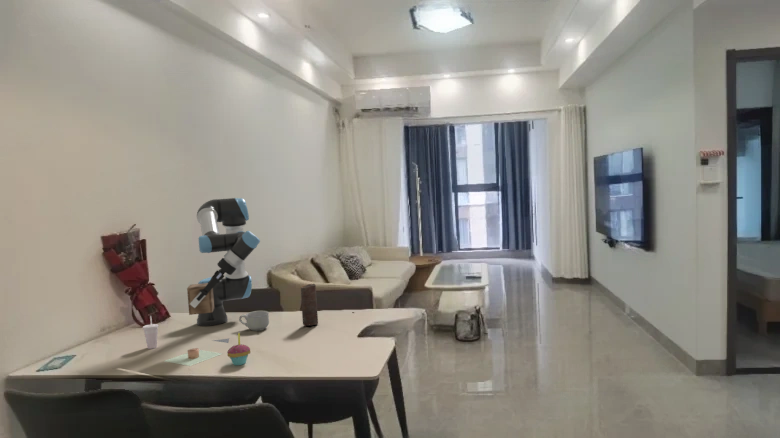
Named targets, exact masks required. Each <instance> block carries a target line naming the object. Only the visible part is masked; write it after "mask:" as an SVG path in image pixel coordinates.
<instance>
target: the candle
mask: <svg viewBox="0 0 780 438" xmlns="http://www.w3.org/2000/svg"><path fill="white" fill-rule="evenodd" d="M300 296H301V314H302V316H301V317H302V325H304V326H305V327H309V326H311V327H312V326H315V325H318V324H319V316H318V315H319V314H318V304H317V303H318V302H317V287H316V284H315V283H311V284H304V285H303V284H302V285H301V286H300Z"/></svg>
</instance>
